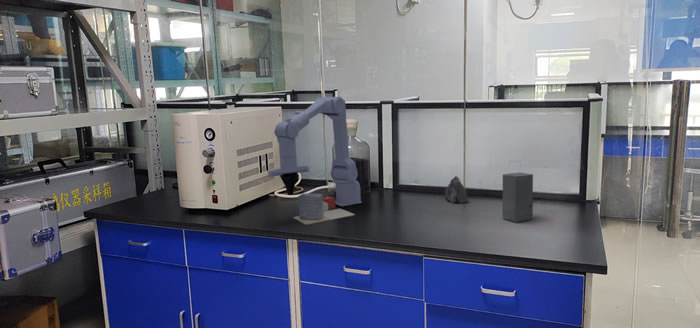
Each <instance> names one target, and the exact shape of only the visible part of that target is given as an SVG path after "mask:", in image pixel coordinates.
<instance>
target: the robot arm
mask: <svg viewBox="0 0 700 328" xmlns="http://www.w3.org/2000/svg"><path fill="white" fill-rule="evenodd" d="M319 114H322V115H323V116H324V115H325V116H327V117H328V118H329V119H331V120H332V128H333V129H332V131H333V140H334V141H333V143H334V151H335V153H334V154H335V155H334V156H335V159H333V160H332V162H331V169H330V176H331V178H332V179H333V182H334V183H335V195H336V196H335V198H336V199H335V205H337V206H339V207H346V206H352V205H357V204H361V203H363V201H362V200H361V199H362V198H361V195H362V194H361V186H360V183H359V181H358V180H357V178H358V176H359V174H358V169H357V165H356V161H354V160H353V159H352V158H350V152H349V151H350V150H349V149H350V148H349V137H348V125H347V124H348V123H347V110H346V100H344V98H342V97H341V96H319V97H318V98H316V99H314V102H313V103H312V104H311V105H310V106H309V107H307V108H306V109H305V110H296V111H295V112H294V114H293V115H291V116H290V117H287V118H286V120H285V121H279V122H278V123H277V124H276V125H275V129H274V130H273V131H274V135H275V137H276V139H277V140H276V141H277V142H278V147H279V165H280V167H279V168H275V169H272V170H268V171H267V172H268V177H269V178H273V177H278V176H279V178H280V179H281V180H282V182H283V184H284V187H285V189H286V190H285V191H286V194H287V195H289V196H293V195H294V191H295V187H296V183H297V182H298V179H299V174H300V173H301V174H302V173H309V172H310V167H309V166H307V165H304V166H303V165H301V166H297V165H298V164H297V161H298V160H297V145H296V138H297V137H298V135H299V133H300V131H301V130H303V129H304V128H305V127H307V126H308V125H309V123H310V120H311V119H312V118H314V117H316V116H317V115H319Z"/></svg>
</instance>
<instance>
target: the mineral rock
mask: <svg viewBox="0 0 700 328" xmlns="http://www.w3.org/2000/svg"><path fill="white" fill-rule="evenodd" d="M444 191H445V192H444V196H445V198H446V199H447V200H448V201H449V202H451V203H453V204H465V203H467V202H468V200H469V199H468V193H467V191H466V188H465V186H464V184H462V183H461V180H460V178H459V177H458V176H457V175H456V176H454V177H453V178H451V180H450V183H449V184H448V186H446V188H445V190H444Z"/></svg>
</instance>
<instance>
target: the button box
mask: <svg viewBox="0 0 700 328" xmlns="http://www.w3.org/2000/svg"><path fill="white" fill-rule="evenodd" d="M324 211H329V210H328V203H326V202H324V201H323V212H324Z"/></svg>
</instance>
